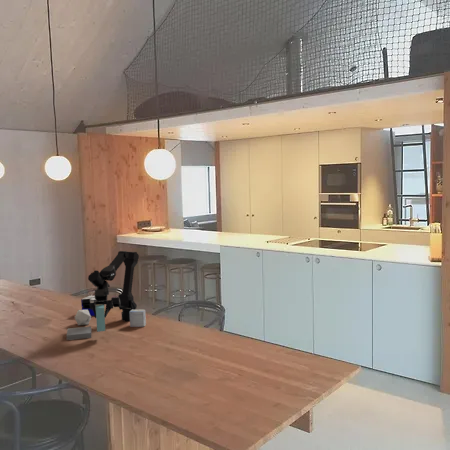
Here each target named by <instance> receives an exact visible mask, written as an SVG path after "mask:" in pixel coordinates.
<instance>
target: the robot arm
mask: <svg viewBox="0 0 450 450" xmlns="http://www.w3.org/2000/svg"><path fill="white" fill-rule="evenodd" d="M139 258H140V255H139V253H138V252H137V251H127V250H119V251H118V252H117V254H116V256H115V257H114V258H113V259H112V260H111V262H110V263H109V265H107V266H105V267H103V268H102V269H101V270H100V271H99V270H98V269H97V270H95V269H94V271H93V272H92V273H90V274H89V275H88V277H87V279H88V281H89V282H90V283H91V284H92V285H93V286H94V287H96V289H94V296H95V299H96V301H94V300H90V299H83V298H82V299H83V300H82V305H83V308H84V309H89V308H90V309H91V310H93V312H94V315H95V316H94V319H96V305H103V304H104V305H105V312H104V313H105V319H106V318H107V316H108V314H109V313H110V311H111V310H112V309H114V308H118V309H119V310H120V311H121V310H122V311H121V320H122V322H130V313H129V312H130V311H131V310H137V303H136V302H135V301H134V295H133V293H132V292H133V291H132V289H133V281H134V273H135V271H134V270H135V267H136V266H137V264H138V262H139ZM122 264H124V266H125V267H124V268H125V270H124V277H123V284H122V285H123V287H122V292H121V293H120V294H118V296H113V297H111V299H108V295H110V289H109V288H110V284H109V282H108V281H110V282H111V281H114V279H115V278H116V276H117V271H118V269H119V268H120V267H121V266H122ZM82 305H81V306H82Z"/></svg>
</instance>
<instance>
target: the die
mask: <svg viewBox="0 0 450 450" xmlns="http://www.w3.org/2000/svg"><path fill="white" fill-rule="evenodd" d="M74 319H75V322H76V324H77V326H78V327H80V326H88V325H89V323H90V322H91V319H92V316H90V313H89V311H88V309H87V310H82V309H78V310H77V312H76V314H75V315H74Z"/></svg>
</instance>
